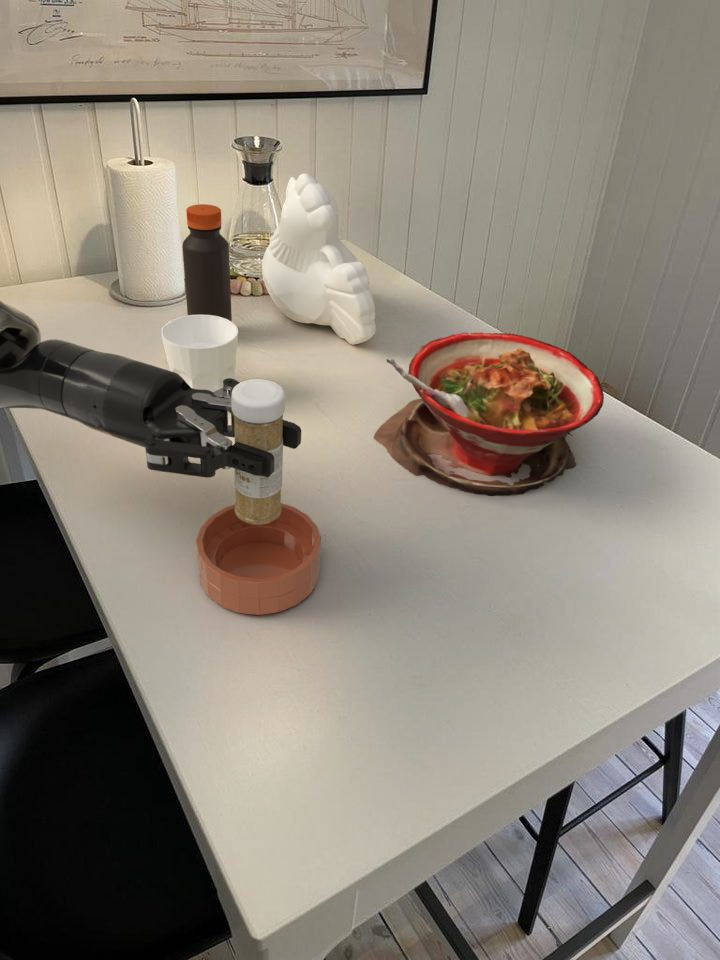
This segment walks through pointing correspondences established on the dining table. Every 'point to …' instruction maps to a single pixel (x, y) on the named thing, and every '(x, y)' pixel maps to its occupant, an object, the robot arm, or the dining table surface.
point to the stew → (491, 410)
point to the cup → (201, 349)
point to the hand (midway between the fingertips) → (285, 451)
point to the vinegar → (206, 263)
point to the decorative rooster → (317, 266)
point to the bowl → (258, 561)
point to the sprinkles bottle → (260, 428)
